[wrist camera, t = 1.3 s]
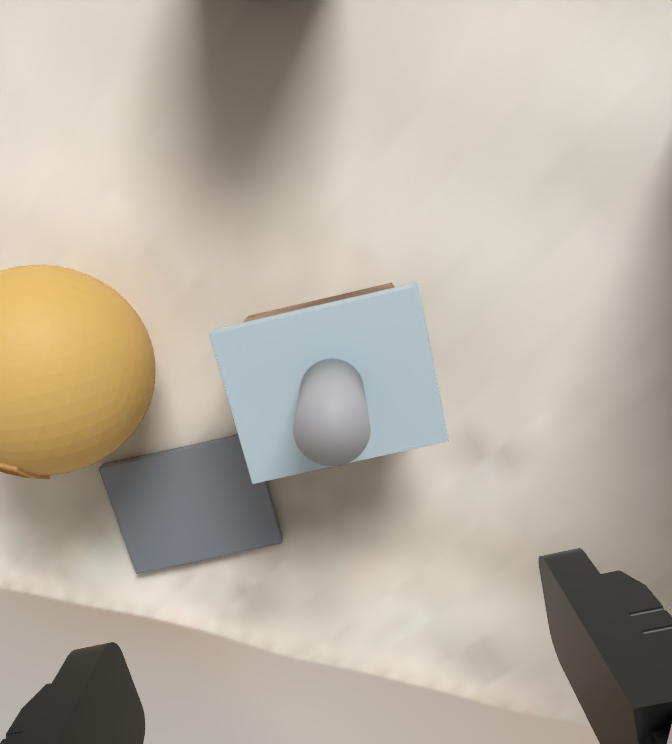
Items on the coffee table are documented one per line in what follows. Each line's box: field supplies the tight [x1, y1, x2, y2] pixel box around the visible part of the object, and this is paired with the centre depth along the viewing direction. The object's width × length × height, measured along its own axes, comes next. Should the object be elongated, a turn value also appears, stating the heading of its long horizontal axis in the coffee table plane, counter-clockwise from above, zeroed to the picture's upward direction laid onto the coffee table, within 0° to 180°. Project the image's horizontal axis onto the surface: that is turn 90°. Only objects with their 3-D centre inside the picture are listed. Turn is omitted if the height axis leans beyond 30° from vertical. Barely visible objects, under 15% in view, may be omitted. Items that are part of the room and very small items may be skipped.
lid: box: [209, 283, 449, 484], centre depth 26 cm, size 9×7×7 cm
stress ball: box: [0, 265, 155, 479], centre depth 29 cm, size 10×10×10 cm
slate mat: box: [99, 435, 283, 574], centre depth 36 cm, size 9×7×1 cm
